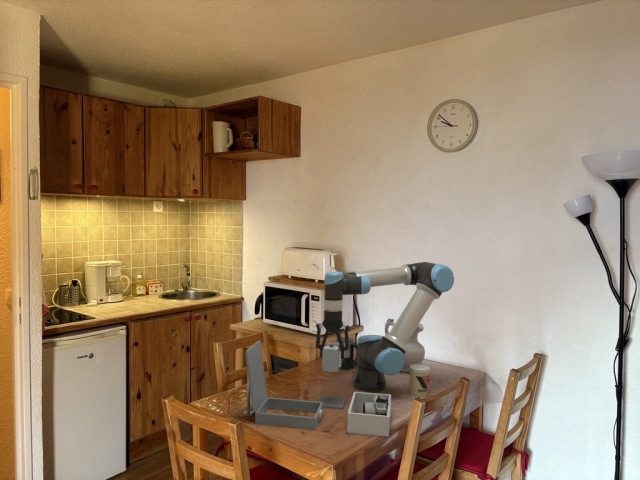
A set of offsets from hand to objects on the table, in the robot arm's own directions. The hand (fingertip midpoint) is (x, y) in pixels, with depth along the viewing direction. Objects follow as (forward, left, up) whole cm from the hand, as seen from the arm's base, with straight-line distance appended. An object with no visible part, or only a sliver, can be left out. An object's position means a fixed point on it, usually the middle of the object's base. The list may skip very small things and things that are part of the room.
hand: (331, 365), depth 194 cm
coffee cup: (-36, -19, -16) cm, 44 cm away
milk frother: (-2, -52, -16) cm, 54 cm away
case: (+13, +18, -15) cm, 27 cm away
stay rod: (+29, +18, -15) cm, 38 cm away
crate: (-17, +15, -15) cm, 27 cm away
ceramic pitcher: (-29, -54, -16) cm, 63 cm away
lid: (+26, +18, 0) cm, 31 cm away
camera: (-19, +14, -16) cm, 28 cm away
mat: (0, 0, -15) cm, 15 cm away
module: (0, 0, -1) cm, 1 cm away
